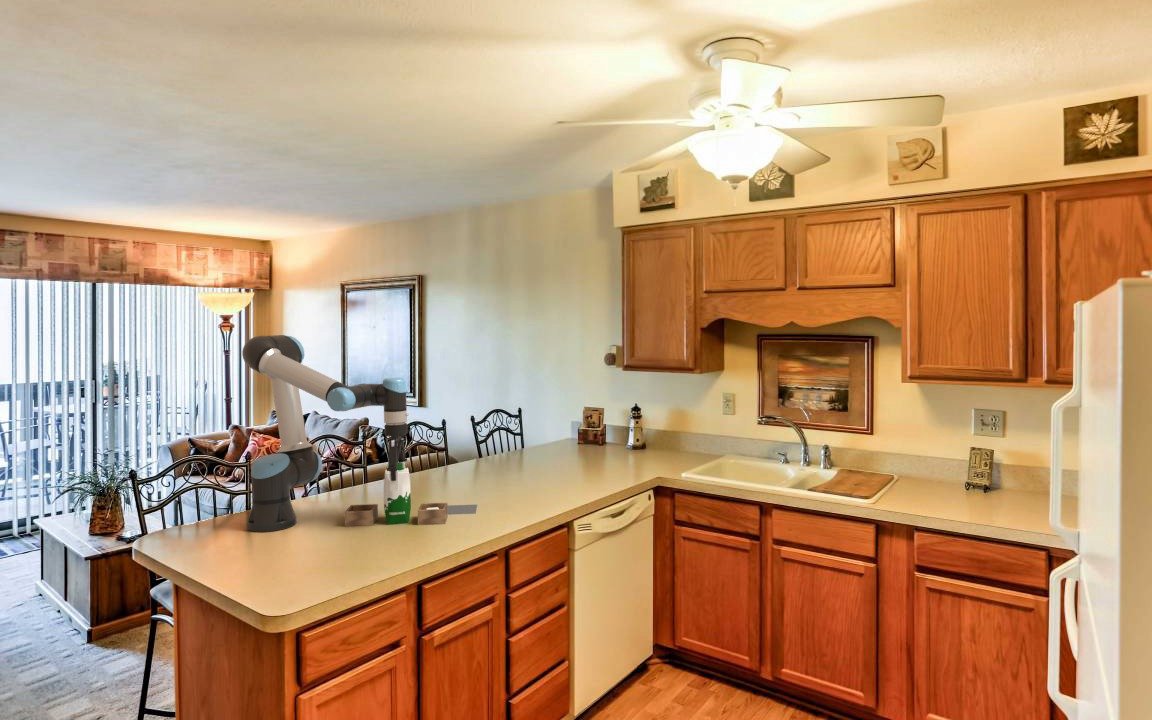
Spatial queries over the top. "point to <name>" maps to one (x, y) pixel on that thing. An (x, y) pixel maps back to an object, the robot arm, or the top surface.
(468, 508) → the coaster
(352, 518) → the crate
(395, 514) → the soya milk
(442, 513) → the crate
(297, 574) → the top surface
